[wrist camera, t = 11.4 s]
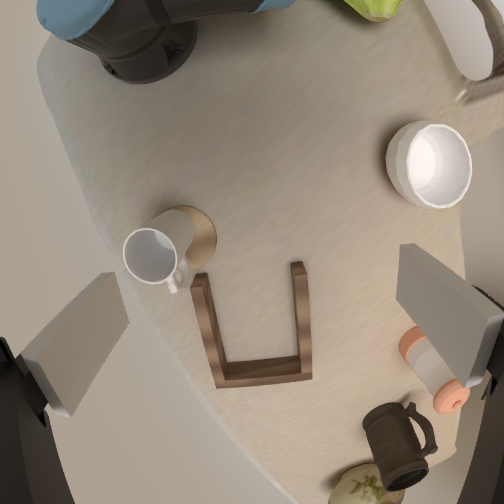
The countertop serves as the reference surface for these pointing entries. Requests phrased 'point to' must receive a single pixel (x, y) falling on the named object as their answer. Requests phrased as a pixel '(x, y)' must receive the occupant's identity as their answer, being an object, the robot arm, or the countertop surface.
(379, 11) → the lettuce
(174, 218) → the mug
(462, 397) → the salt shaker
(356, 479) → the pitcher
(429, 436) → the beer stein
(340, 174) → the countertop surface
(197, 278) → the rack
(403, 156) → the white bowl
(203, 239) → the coaster
